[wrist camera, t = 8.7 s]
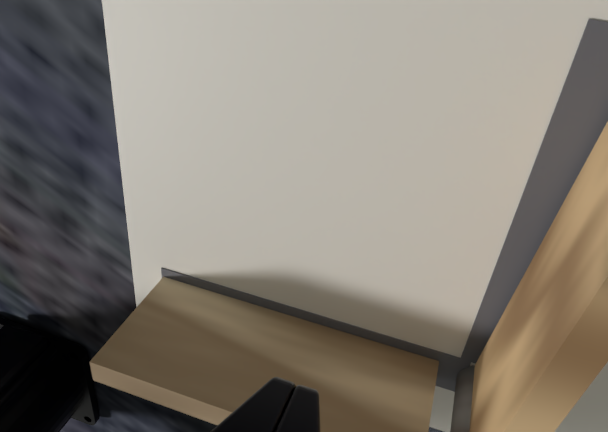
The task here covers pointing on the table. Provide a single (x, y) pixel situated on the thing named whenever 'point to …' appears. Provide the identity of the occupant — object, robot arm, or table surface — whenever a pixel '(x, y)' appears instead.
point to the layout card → (358, 158)
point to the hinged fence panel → (552, 318)
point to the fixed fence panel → (267, 363)
